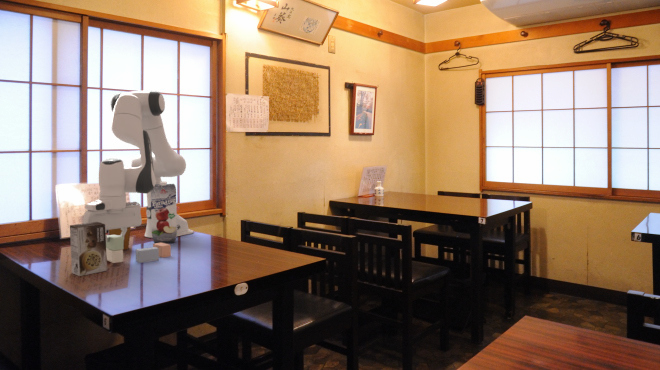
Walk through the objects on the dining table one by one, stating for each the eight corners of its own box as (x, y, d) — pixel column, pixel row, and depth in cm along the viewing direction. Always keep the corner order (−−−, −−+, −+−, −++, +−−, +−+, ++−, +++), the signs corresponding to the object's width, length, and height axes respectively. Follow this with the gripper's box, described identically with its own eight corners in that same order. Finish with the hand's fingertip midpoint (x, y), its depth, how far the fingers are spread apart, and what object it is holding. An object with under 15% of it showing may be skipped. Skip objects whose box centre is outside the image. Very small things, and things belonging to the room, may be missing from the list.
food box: (98, 267, 162) (97, 221, 160) (107, 271, 157) (106, 223, 156) (70, 273, 154) (69, 224, 153) (79, 276, 150) (77, 226, 149)
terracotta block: (161, 253, 185) (161, 242, 184) (170, 256, 180) (170, 244, 180) (153, 255, 182) (152, 243, 182) (162, 257, 178) (162, 246, 177)
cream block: (115, 258, 176) (115, 246, 176) (123, 261, 171) (122, 249, 171) (106, 260, 174) (105, 248, 173) (113, 263, 169) (113, 251, 168)
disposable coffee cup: (137, 246, 197) (136, 218, 196) (125, 251, 188) (124, 222, 187) (115, 246, 198) (114, 218, 197) (102, 251, 189) (101, 221, 188)
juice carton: (152, 240, 211) (151, 180, 209) (177, 239, 214) (176, 180, 212) (151, 244, 202) (149, 182, 200) (177, 243, 205) (175, 181, 204)
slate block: (136, 261, 172) (135, 249, 171) (155, 258, 176) (155, 246, 176) (139, 263, 169) (139, 250, 169) (158, 260, 173) (158, 248, 173)
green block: (114, 246, 176) (114, 234, 175) (123, 249, 171) (123, 236, 171) (105, 247, 173) (105, 235, 173) (113, 250, 168) (114, 237, 168)
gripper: (136, 200, 181) (137, 236, 182) (80, 205, 165) (81, 243, 166) (144, 201, 177) (145, 238, 178) (87, 206, 161) (89, 246, 162)
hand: (114, 241), depth 172 cm, fingers open, 4 cm apart
